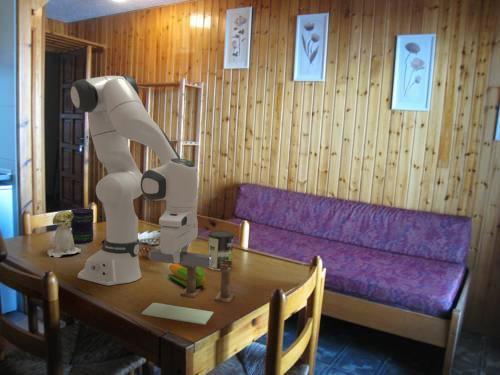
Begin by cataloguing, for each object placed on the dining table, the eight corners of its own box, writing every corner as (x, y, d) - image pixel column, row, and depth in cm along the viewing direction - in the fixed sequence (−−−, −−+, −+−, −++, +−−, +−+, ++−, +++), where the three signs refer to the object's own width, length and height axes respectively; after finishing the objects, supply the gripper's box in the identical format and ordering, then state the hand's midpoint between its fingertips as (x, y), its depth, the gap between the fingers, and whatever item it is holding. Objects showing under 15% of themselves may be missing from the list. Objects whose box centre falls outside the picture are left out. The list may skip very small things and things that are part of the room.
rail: (148, 260, 122) (148, 250, 121) (153, 257, 125) (153, 248, 124) (209, 268, 118) (210, 258, 117) (213, 265, 121) (213, 255, 120)
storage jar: (88, 245, 187) (88, 213, 185) (66, 243, 187) (66, 211, 185) (96, 239, 197) (96, 208, 195) (76, 238, 197) (76, 207, 195)
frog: (86, 254, 174) (86, 212, 172) (56, 260, 164) (56, 215, 162) (72, 247, 182) (73, 207, 179) (43, 253, 172) (42, 210, 170)
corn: (194, 271, 139) (161, 256, 152) (192, 293, 139) (160, 276, 153) (211, 268, 144) (178, 254, 158) (209, 289, 144) (176, 273, 158)
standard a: (180, 295, 137) (181, 259, 135) (187, 288, 143) (188, 254, 141) (194, 297, 136) (196, 261, 134) (200, 290, 142) (202, 256, 140)
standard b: (214, 300, 135) (216, 264, 133) (220, 293, 140) (221, 259, 139) (229, 302, 133) (231, 266, 132) (234, 295, 139) (236, 260, 138)
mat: (141, 314, 122) (141, 312, 122) (153, 303, 130) (153, 302, 129) (205, 324, 118) (205, 323, 117) (213, 313, 125) (213, 311, 125)
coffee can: (234, 264, 172) (236, 231, 170) (228, 272, 162) (230, 237, 160) (211, 261, 174) (212, 229, 172) (203, 269, 164) (205, 234, 162)
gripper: (184, 207, 130) (183, 249, 132) (156, 220, 110) (155, 269, 112) (203, 209, 129) (202, 252, 131) (177, 222, 109) (176, 272, 111)
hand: (180, 260), depth 121 cm, fingers closed on rail, 3 cm apart
